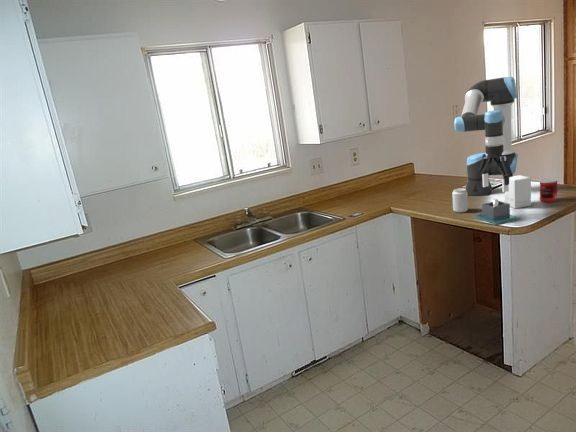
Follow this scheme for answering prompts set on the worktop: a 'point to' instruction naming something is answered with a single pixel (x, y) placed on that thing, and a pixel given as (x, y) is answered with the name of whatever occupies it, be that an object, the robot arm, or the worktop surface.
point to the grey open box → (496, 210)
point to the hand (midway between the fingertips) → (495, 189)
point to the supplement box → (519, 192)
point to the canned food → (548, 190)
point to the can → (460, 200)
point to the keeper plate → (496, 221)
